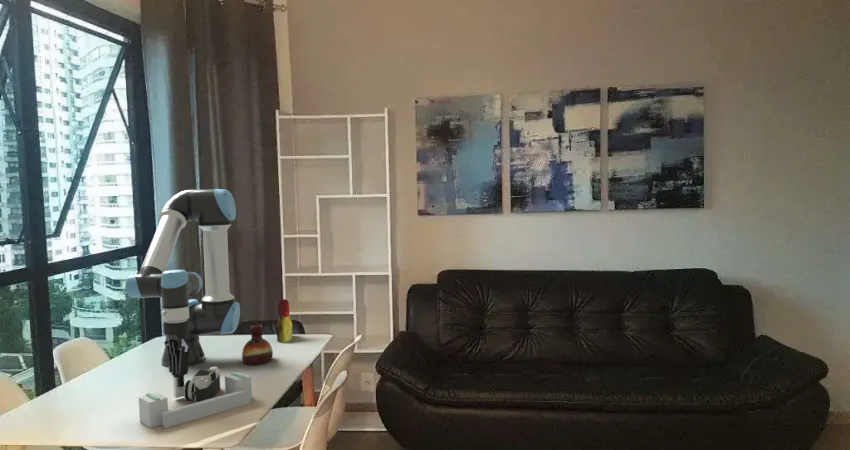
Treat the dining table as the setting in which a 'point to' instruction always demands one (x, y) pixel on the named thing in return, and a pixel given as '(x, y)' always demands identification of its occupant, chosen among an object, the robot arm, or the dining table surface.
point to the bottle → (284, 322)
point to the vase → (257, 348)
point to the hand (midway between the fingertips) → (179, 396)
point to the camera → (203, 385)
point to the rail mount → (195, 404)
